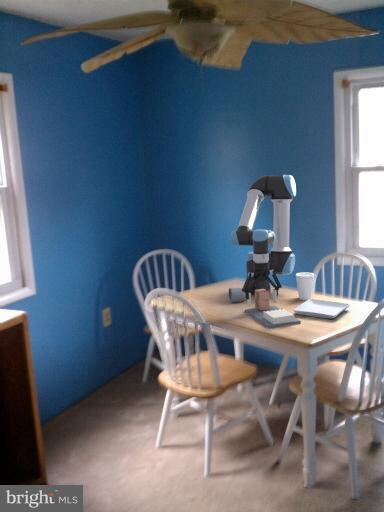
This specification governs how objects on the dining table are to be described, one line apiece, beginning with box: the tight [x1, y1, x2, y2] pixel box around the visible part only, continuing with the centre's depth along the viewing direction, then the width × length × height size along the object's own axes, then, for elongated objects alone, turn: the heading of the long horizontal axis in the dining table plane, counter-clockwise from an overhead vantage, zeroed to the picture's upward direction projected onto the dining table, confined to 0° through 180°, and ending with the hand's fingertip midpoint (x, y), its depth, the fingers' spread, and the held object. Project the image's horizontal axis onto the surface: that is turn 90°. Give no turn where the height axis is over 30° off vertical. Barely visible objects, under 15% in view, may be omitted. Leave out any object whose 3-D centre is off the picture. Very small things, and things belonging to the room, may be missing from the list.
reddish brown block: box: [254, 289, 270, 311], centre depth 260 cm, size 6×5×9 cm
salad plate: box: [292, 298, 351, 319], centre depth 255 cm, size 21×21×3 cm
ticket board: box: [243, 304, 302, 329], centre depth 251 cm, size 28×16×4 cm, turn 16°
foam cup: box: [295, 271, 315, 301], centre depth 280 cm, size 10×9×13 cm
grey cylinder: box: [228, 287, 247, 303], centre depth 282 cm, size 11×8×8 cm
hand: (262, 304), depth 261 cm, fingers open, 13 cm apart
